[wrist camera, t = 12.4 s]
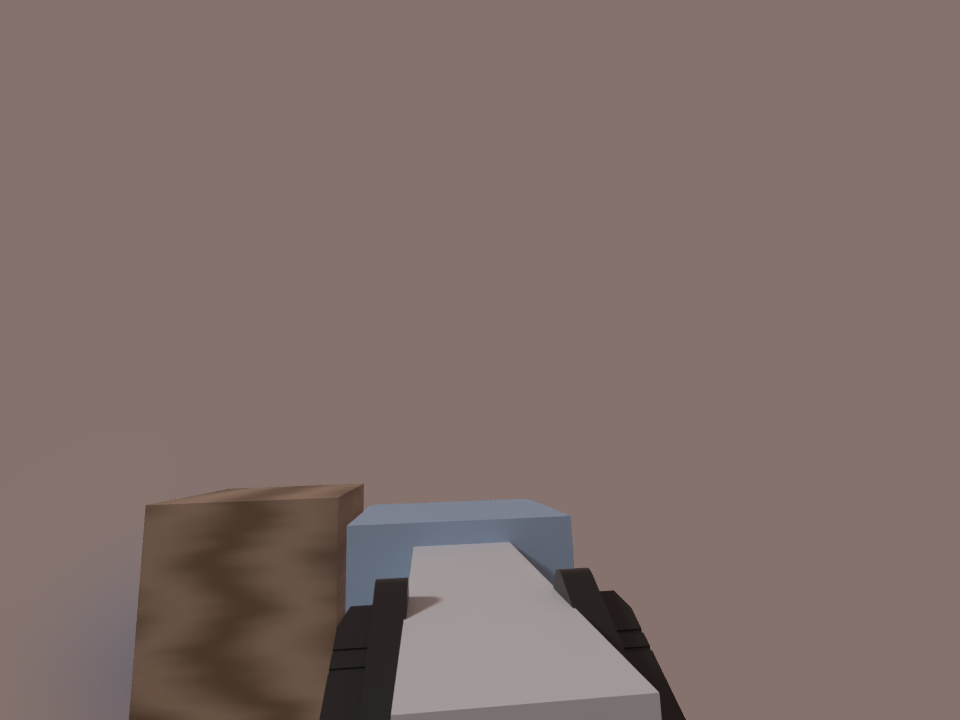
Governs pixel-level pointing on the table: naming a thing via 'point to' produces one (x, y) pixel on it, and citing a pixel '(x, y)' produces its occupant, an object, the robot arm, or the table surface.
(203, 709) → the walnut stand
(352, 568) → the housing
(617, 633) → the robot arm
